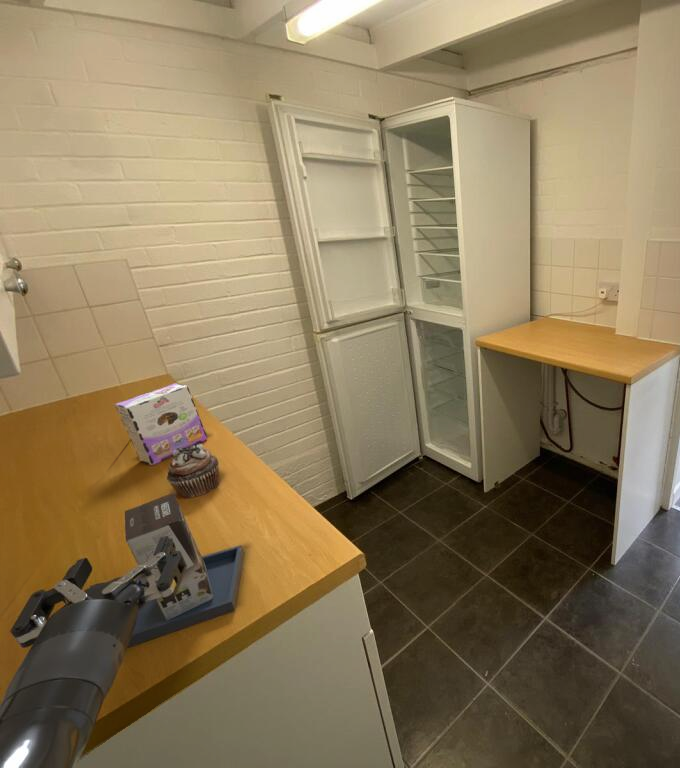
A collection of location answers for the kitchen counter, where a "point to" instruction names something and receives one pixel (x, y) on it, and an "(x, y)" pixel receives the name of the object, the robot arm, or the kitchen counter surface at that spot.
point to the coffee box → (169, 521)
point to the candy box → (162, 422)
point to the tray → (225, 591)
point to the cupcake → (193, 471)
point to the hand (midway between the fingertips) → (127, 552)
